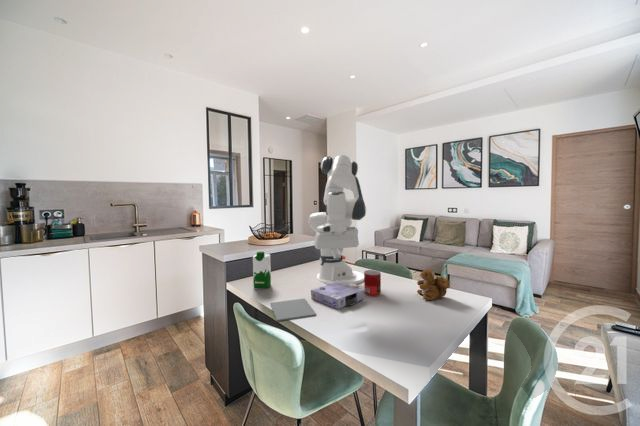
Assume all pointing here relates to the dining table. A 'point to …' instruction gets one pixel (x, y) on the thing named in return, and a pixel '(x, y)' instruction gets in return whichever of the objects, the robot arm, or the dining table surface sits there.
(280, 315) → the mat
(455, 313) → the dining table surface
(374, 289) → the canned food
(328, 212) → the robot arm
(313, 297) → the cake pan box
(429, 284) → the stuffed squirrel
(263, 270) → the milk carton
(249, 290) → the dining table surface
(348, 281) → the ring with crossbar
